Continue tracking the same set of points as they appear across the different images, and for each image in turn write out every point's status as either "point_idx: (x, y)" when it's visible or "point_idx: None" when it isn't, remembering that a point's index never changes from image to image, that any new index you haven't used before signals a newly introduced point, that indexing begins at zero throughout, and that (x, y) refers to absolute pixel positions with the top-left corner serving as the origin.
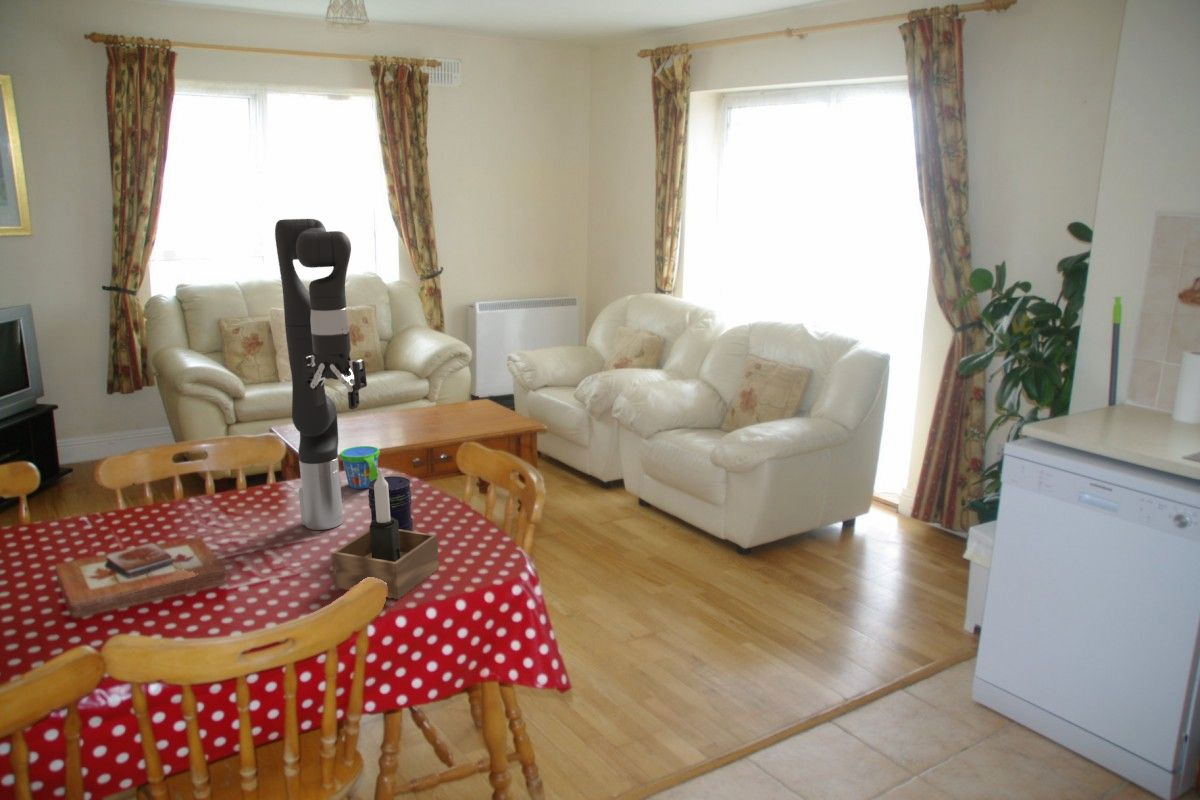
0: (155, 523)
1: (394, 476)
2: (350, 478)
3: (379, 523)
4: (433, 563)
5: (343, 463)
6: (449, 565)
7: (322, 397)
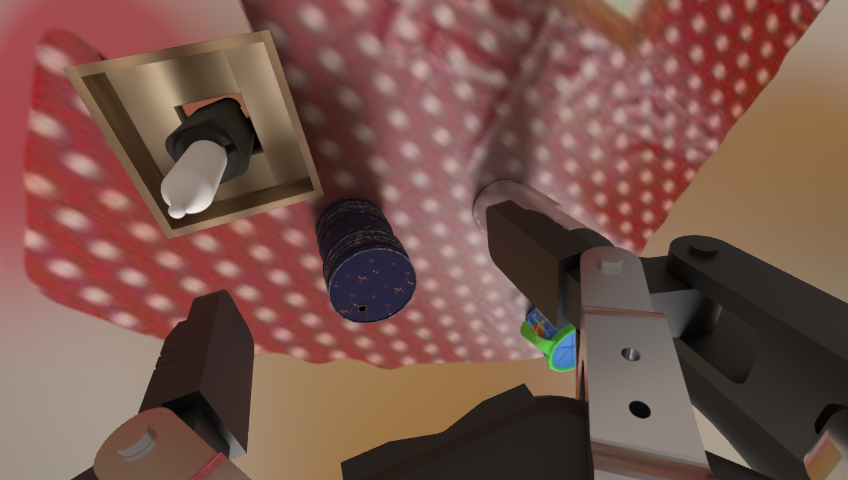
0: (718, 53)
1: (395, 313)
2: None
3: (192, 136)
4: None
5: None
6: None
7: (511, 269)
